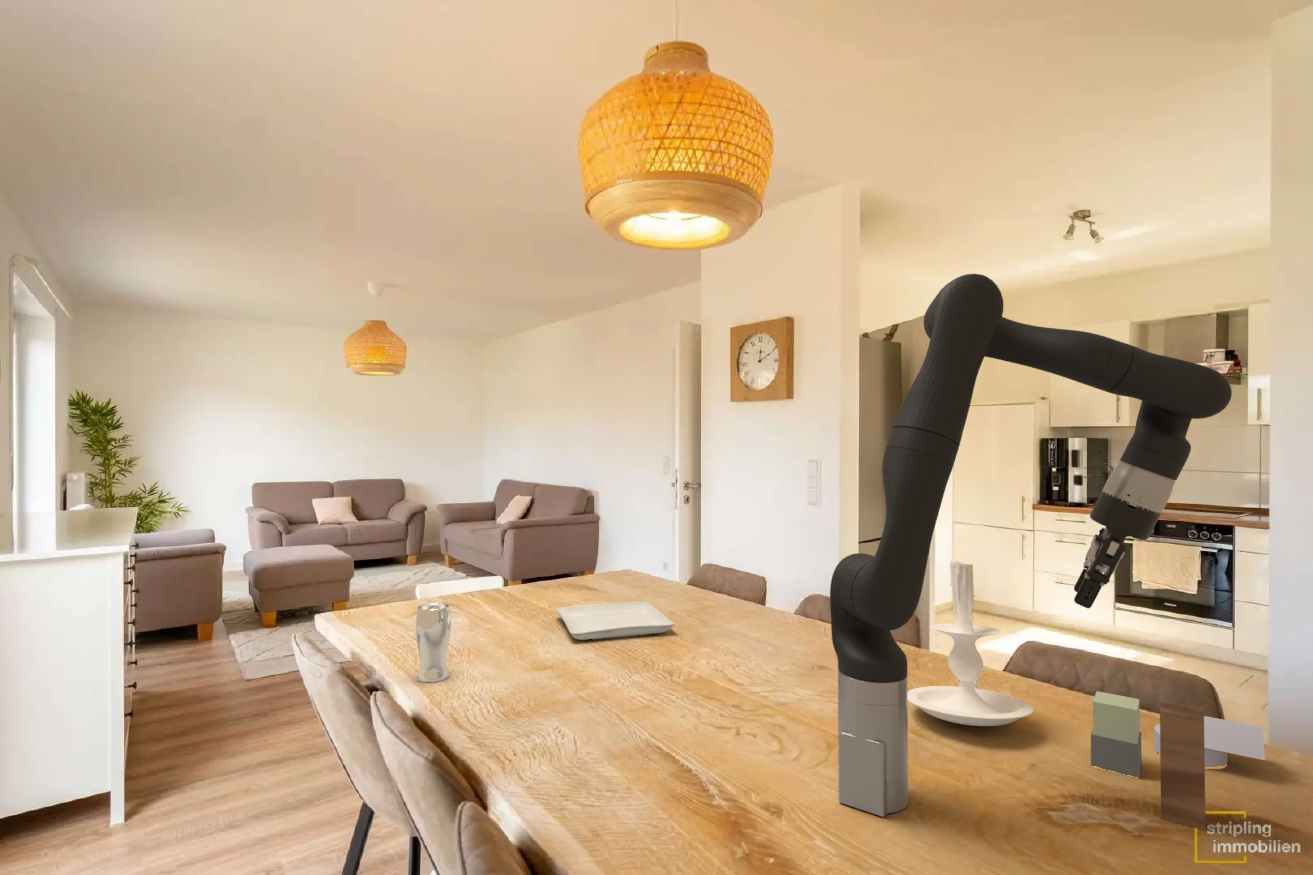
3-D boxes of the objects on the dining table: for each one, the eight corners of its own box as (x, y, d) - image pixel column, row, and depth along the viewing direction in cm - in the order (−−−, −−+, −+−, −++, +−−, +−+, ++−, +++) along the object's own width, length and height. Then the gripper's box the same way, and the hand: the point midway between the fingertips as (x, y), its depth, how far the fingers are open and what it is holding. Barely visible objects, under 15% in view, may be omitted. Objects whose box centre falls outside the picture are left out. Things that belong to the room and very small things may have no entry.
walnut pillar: (1205, 830, 86) (1204, 719, 86) (1161, 818, 88) (1159, 710, 89) (1204, 814, 89) (1203, 708, 89) (1161, 803, 92) (1160, 700, 92)
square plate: (554, 619, 192) (554, 606, 192) (646, 612, 200) (646, 599, 200) (571, 646, 166) (571, 630, 166) (676, 637, 174) (676, 622, 174)
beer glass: (408, 679, 141) (408, 607, 141) (433, 670, 147) (434, 601, 147) (432, 685, 138) (433, 611, 138) (457, 675, 144) (457, 604, 144)
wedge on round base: (1259, 760, 105) (1155, 738, 113) (1258, 717, 105) (1154, 698, 113) (1265, 783, 98) (1154, 758, 105) (1265, 736, 98) (1153, 715, 106)
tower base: (1139, 779, 99) (1139, 745, 99) (1090, 767, 103) (1090, 734, 103) (1141, 764, 104) (1141, 731, 104) (1095, 753, 107) (1094, 721, 107)
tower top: (1137, 744, 99) (1137, 710, 99) (1093, 734, 103) (1092, 701, 103) (1139, 731, 104) (1139, 699, 104) (1097, 722, 107) (1096, 691, 107)
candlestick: (1038, 708, 126) (1030, 556, 129) (1031, 747, 105) (1022, 564, 108) (921, 692, 136) (917, 552, 140) (893, 724, 116) (889, 558, 119)
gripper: (1101, 486, 104) (1054, 578, 108) (1105, 491, 92) (1052, 596, 95) (1156, 507, 101) (1106, 602, 104) (1168, 515, 89) (1111, 623, 92)
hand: (1080, 599), depth 100 cm, fingers open, 8 cm apart
